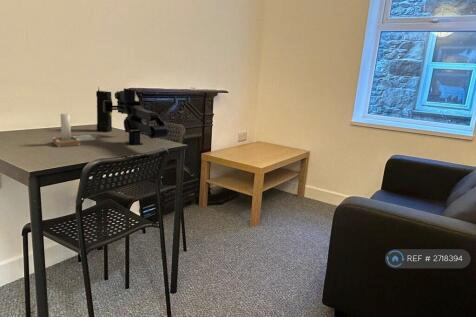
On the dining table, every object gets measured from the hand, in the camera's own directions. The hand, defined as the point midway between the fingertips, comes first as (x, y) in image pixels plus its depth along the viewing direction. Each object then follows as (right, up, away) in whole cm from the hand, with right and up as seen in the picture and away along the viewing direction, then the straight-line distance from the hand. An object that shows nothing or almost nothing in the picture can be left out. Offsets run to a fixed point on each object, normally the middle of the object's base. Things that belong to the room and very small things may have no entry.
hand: (115, 104), depth 190 cm
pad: (-12, -20, -14) cm, 27 cm away
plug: (-13, -23, -28) cm, 38 cm away
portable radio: (-10, -14, +11) cm, 20 cm away
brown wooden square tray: (-13, -23, -28) cm, 38 cm away
